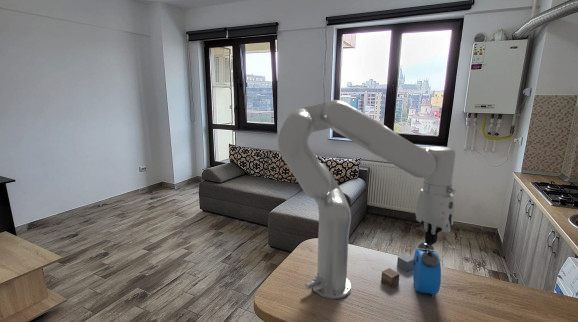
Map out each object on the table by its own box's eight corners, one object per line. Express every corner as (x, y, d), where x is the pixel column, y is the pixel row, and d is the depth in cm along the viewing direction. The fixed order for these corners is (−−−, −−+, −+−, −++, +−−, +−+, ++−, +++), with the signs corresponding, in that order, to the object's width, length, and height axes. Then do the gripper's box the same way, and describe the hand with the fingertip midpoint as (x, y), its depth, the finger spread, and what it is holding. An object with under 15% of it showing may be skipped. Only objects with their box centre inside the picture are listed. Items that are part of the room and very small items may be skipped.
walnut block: (390, 288, 96) (391, 277, 95) (381, 281, 100) (381, 271, 99) (398, 284, 98) (399, 273, 97) (388, 277, 102) (389, 267, 101)
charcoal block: (406, 272, 105) (407, 262, 104) (396, 266, 108) (397, 256, 107) (413, 268, 107) (414, 258, 106) (404, 263, 110) (404, 253, 109)
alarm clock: (438, 304, 89) (444, 260, 85) (416, 300, 90) (421, 257, 87) (430, 278, 101) (435, 239, 98) (410, 275, 103) (415, 236, 99)
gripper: (469, 192, 83) (460, 250, 88) (421, 179, 96) (416, 230, 100) (454, 198, 79) (446, 258, 84) (407, 183, 92) (402, 236, 96)
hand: (430, 243), depth 92 cm, fingers closed
